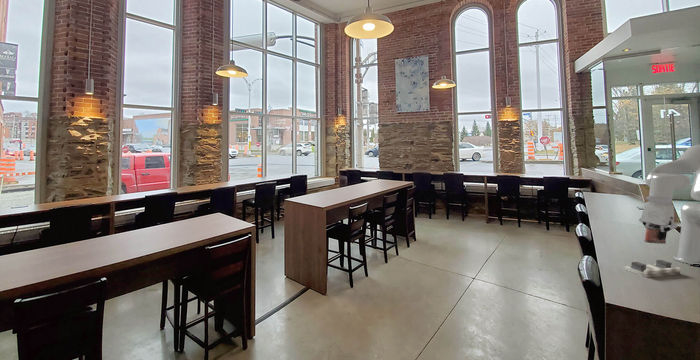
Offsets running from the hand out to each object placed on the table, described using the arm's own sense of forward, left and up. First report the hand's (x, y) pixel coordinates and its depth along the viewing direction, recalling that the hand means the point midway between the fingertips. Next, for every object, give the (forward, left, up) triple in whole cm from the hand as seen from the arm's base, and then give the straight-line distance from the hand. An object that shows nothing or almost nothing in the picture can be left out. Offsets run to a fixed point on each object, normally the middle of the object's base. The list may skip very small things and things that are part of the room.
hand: (655, 237), depth 136 cm
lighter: (0, 0, -3) cm, 3 cm away
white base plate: (0, 0, -17) cm, 17 cm away
